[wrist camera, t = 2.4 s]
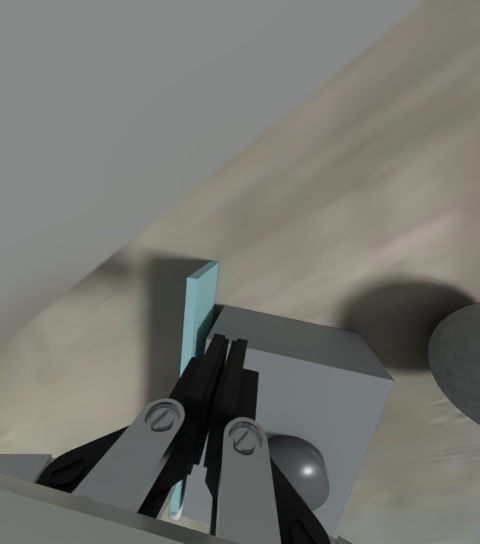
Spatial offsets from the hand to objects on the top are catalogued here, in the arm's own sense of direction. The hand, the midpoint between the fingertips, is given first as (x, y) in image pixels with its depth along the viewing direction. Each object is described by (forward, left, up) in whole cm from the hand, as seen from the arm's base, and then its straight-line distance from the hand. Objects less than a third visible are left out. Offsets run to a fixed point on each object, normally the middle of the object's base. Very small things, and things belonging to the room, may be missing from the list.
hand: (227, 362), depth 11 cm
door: (-11, +4, -13) cm, 17 cm away
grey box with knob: (-13, -5, -13) cm, 19 cm away
